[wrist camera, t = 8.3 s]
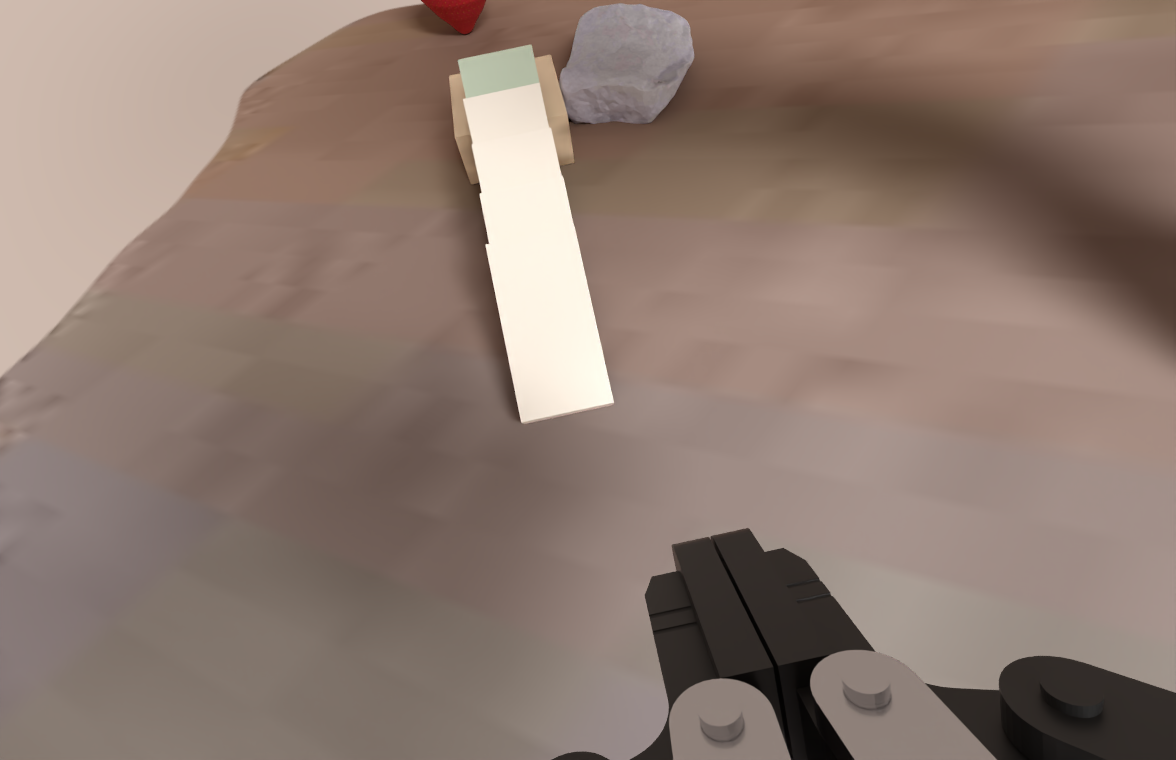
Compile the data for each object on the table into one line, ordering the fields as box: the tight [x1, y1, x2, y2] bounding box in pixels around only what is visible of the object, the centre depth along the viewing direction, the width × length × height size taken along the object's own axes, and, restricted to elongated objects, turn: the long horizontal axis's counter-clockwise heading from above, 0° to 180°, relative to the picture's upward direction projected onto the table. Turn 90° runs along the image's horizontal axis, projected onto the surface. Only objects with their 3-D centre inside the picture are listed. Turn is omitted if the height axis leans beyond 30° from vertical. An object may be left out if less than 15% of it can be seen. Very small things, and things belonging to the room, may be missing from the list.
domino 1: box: [458, 45, 544, 102], centre depth 39 cm, size 2×5×10 cm
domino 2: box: [463, 83, 549, 144], centre depth 38 cm, size 2×5×10 cm
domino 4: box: [480, 176, 574, 244], centre depth 34 cm, size 2×5×10 cm
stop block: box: [449, 55, 575, 184], centre depth 44 cm, size 8×8×4 cm
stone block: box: [559, 3, 694, 124], centre depth 47 cm, size 12×5×10 cm
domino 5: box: [486, 226, 614, 424], centre depth 32 cm, size 2×5×10 cm
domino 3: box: [472, 128, 562, 193], centre depth 36 cm, size 2×5×10 cm
